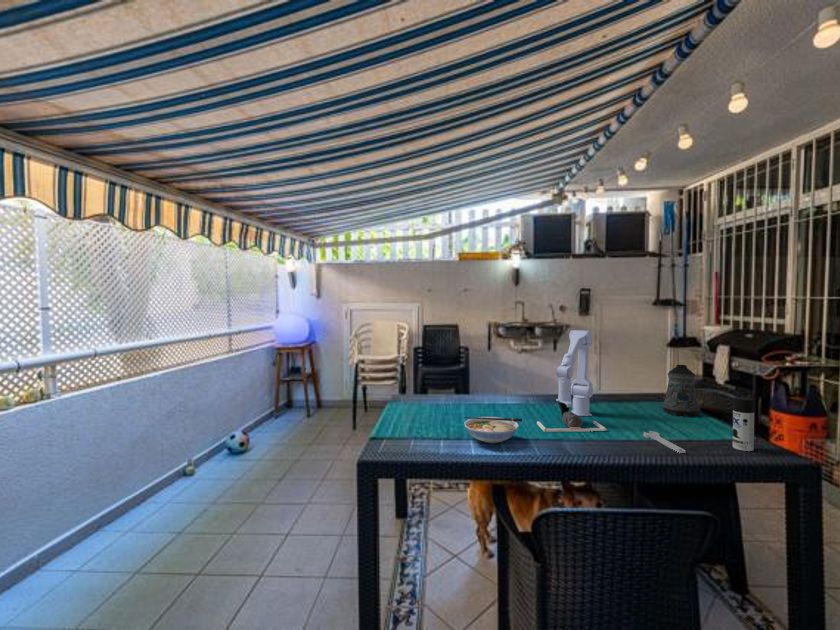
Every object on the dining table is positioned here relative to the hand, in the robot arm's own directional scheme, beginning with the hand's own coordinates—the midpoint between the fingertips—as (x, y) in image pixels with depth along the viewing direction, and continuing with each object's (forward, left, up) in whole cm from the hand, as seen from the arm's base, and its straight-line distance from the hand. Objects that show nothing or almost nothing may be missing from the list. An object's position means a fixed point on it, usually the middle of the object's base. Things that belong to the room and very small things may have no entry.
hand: (564, 417), depth 205 cm
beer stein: (-17, +66, -2) cm, 68 cm away
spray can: (+39, +57, -2) cm, 69 cm away
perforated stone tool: (+7, 0, -3) cm, 8 cm away
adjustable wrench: (+31, +30, -3) cm, 43 cm away
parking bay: (+9, 0, -2) cm, 9 cm away
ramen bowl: (+27, -40, -3) cm, 48 cm away
